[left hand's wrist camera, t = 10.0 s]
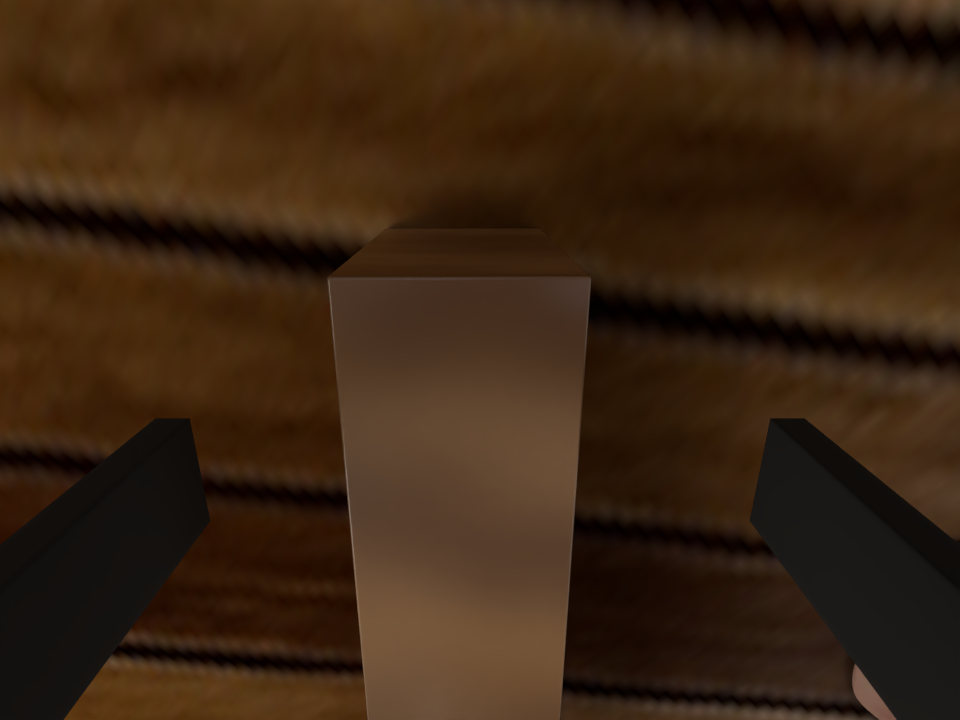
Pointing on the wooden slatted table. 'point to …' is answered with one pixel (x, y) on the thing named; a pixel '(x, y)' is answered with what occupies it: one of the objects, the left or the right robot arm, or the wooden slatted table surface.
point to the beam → (461, 465)
